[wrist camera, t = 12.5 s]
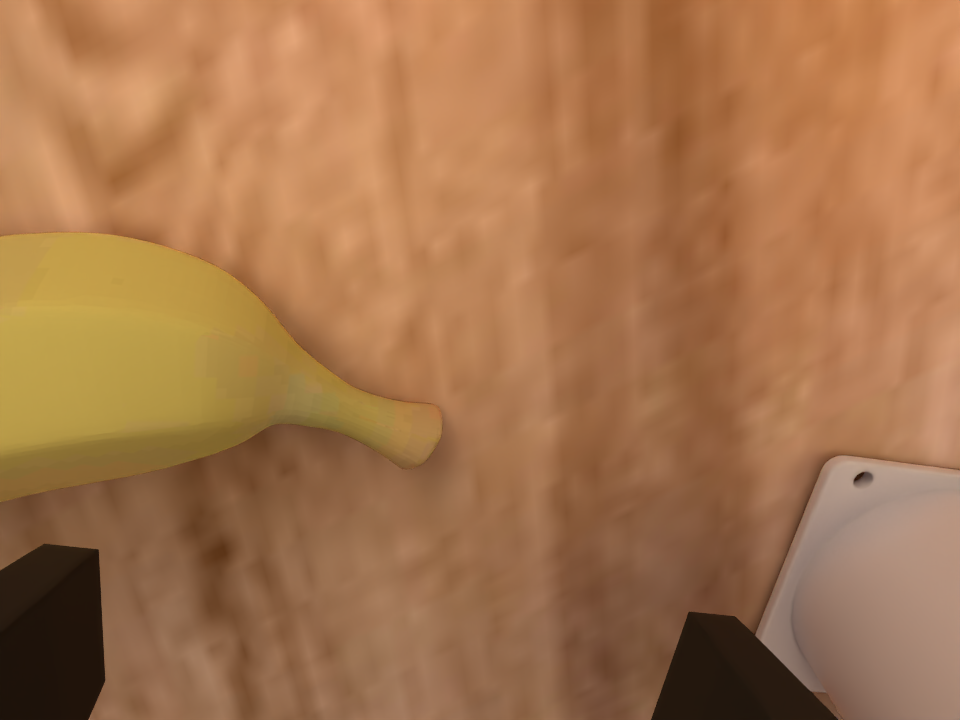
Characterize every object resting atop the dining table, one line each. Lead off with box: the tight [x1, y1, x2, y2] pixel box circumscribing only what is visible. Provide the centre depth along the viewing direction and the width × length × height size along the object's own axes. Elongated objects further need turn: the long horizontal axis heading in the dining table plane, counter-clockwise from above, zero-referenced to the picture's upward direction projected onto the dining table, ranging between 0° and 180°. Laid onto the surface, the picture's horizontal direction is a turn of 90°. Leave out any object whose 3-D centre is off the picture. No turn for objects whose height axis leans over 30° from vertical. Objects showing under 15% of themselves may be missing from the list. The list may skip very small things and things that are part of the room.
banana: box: [0, 232, 443, 502], centre depth 17 cm, size 14×6×20 cm
